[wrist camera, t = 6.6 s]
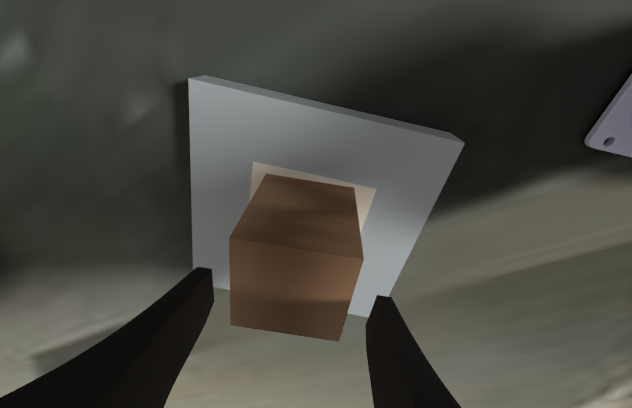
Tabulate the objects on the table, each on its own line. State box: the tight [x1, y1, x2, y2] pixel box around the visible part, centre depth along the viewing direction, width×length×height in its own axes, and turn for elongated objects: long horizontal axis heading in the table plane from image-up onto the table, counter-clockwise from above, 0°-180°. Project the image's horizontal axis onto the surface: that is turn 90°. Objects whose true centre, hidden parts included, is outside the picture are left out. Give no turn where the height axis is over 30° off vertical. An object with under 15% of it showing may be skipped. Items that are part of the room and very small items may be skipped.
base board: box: [188, 75, 465, 317], centre depth 18 cm, size 14×14×2 cm
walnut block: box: [229, 174, 364, 341], centre depth 14 cm, size 5×5×6 cm
